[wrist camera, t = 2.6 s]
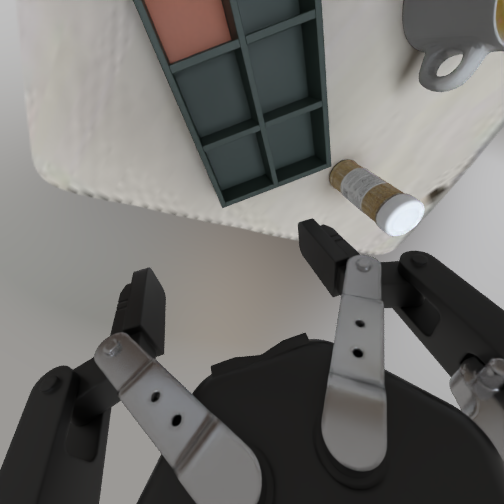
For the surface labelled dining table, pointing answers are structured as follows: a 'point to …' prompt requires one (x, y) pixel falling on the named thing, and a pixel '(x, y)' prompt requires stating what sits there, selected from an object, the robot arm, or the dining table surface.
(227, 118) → the rack
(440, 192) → the dining table surface
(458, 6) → the coffee mug
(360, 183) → the sprinkles bottle
